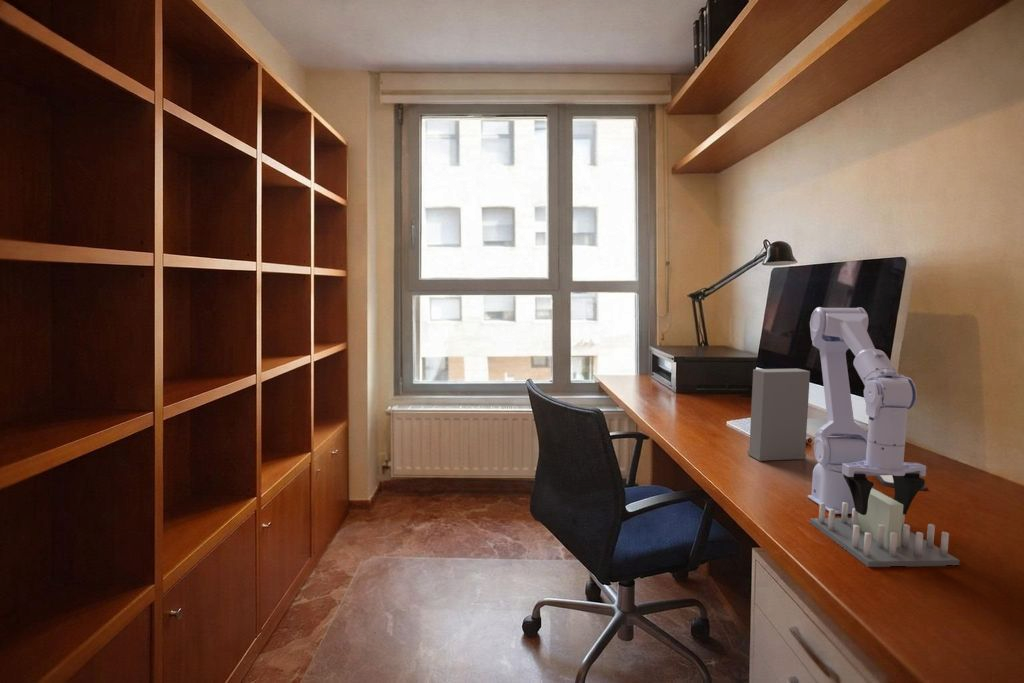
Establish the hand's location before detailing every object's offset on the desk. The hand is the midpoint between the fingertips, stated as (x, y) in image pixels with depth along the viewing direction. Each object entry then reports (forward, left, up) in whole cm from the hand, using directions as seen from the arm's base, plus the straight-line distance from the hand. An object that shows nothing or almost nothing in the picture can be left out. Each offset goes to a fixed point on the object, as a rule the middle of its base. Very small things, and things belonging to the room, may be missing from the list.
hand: (880, 512), depth 98 cm
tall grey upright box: (-50, +7, -6) cm, 51 cm away
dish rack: (0, 0, -6) cm, 6 cm away
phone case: (-34, +29, -7) cm, 45 cm away
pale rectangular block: (0, 0, -5) cm, 5 cm away
